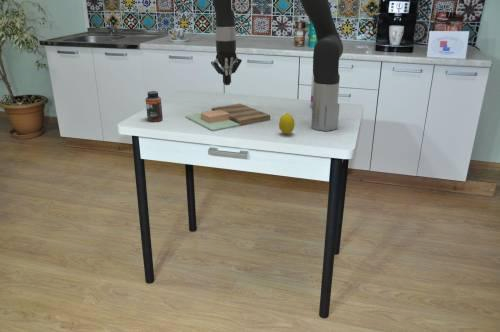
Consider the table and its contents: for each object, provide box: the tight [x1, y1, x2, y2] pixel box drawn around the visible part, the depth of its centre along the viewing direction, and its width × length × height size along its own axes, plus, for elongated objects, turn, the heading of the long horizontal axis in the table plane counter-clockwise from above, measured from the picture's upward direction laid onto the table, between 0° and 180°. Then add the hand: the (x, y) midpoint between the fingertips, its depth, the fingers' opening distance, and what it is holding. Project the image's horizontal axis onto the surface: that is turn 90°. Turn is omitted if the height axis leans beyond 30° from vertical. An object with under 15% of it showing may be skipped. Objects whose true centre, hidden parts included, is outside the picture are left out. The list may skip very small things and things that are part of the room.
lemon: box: [278, 112, 296, 135], centre depth 169 cm, size 6×6×8 cm
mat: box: [184, 112, 241, 132], centre depth 185 cm, size 22×12×1 cm, turn 34°
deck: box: [211, 103, 271, 127], centre depth 192 cm, size 22×14×2 cm, turn 34°
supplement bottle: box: [145, 90, 164, 123], centre depth 185 cm, size 6×6×11 cm
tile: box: [200, 110, 230, 123], centre depth 185 cm, size 7×9×2 cm
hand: (227, 84), depth 184 cm, fingers closed
